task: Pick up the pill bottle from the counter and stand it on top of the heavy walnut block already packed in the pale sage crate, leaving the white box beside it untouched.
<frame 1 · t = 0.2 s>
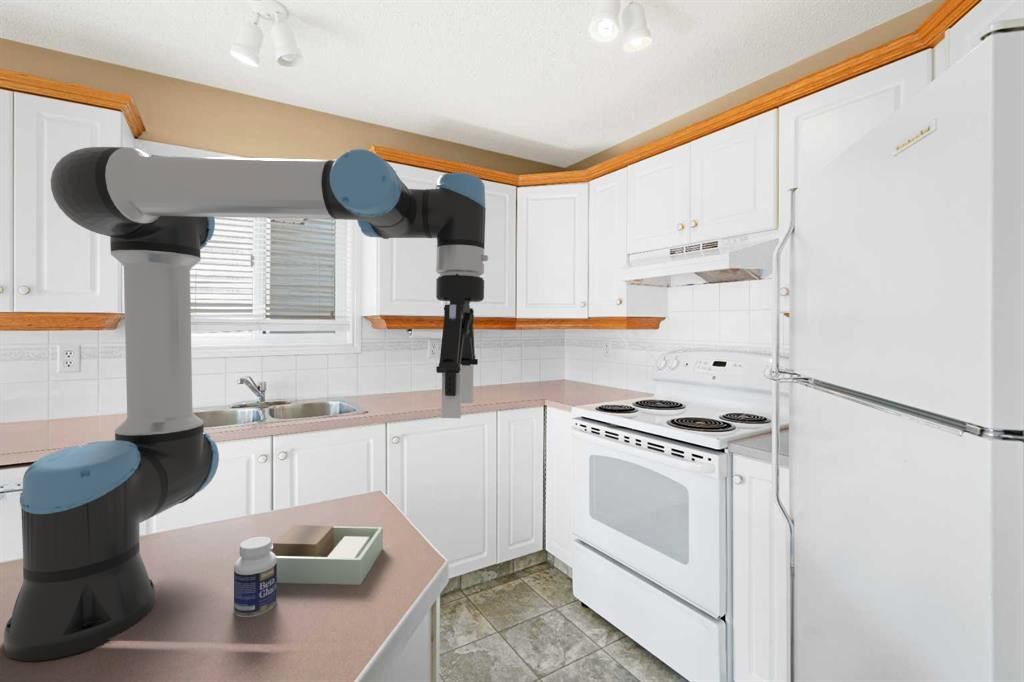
hand: (458, 409, 76), 28 cm above the counter, fingers open, 13 cm apart
white box: (348, 564, 80), point 1 cm above the counter, touching crate
pill bottle: (255, 610, 68), on the counter
crate: (325, 567, 80), on the counter
walnut block: (304, 563, 80), point 1 cm above the counter, touching crate
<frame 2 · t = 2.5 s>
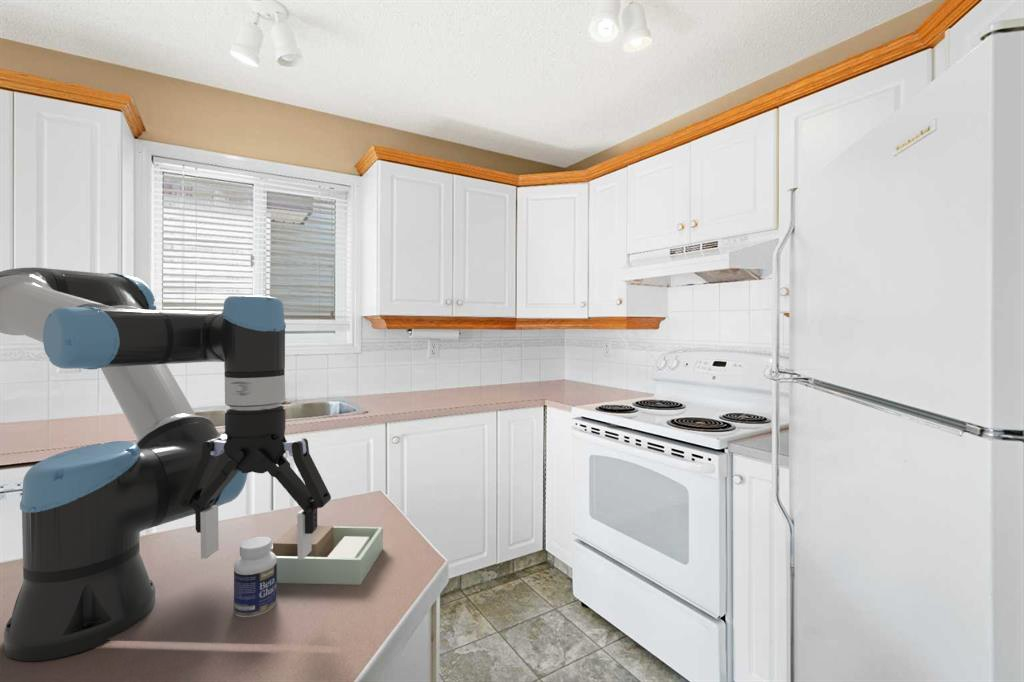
hand: (257, 554, 67), 8 cm above the counter, fingers open, 13 cm apart
nothing on the counter moved.
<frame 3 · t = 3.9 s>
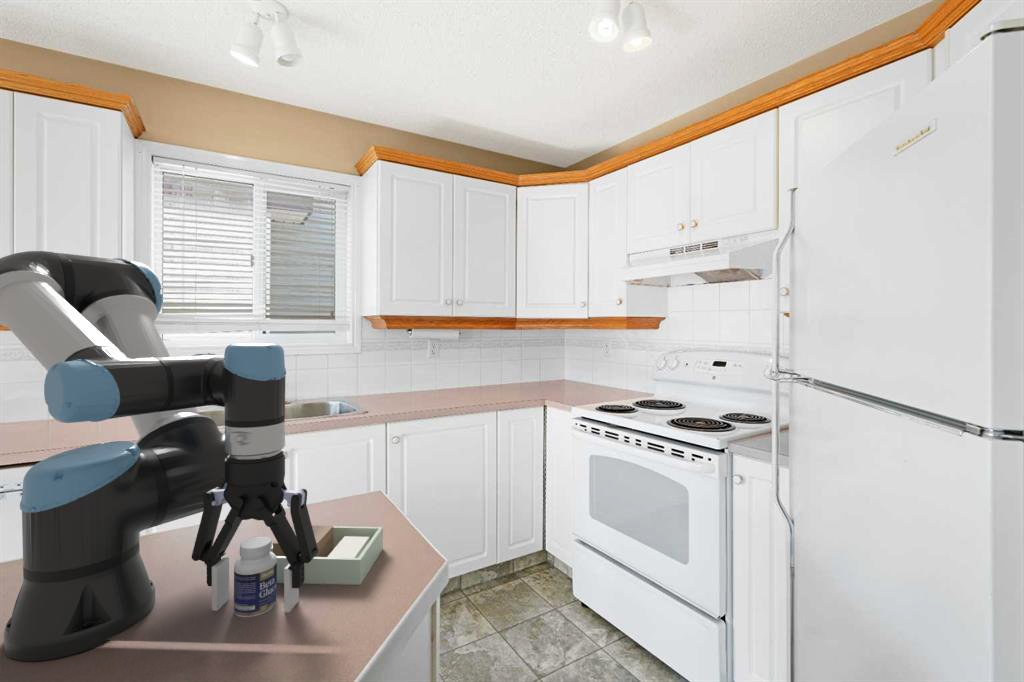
hand: (256, 607, 68), 0 cm above the counter, fingers open, 9 cm apart
nothing on the counter moved.
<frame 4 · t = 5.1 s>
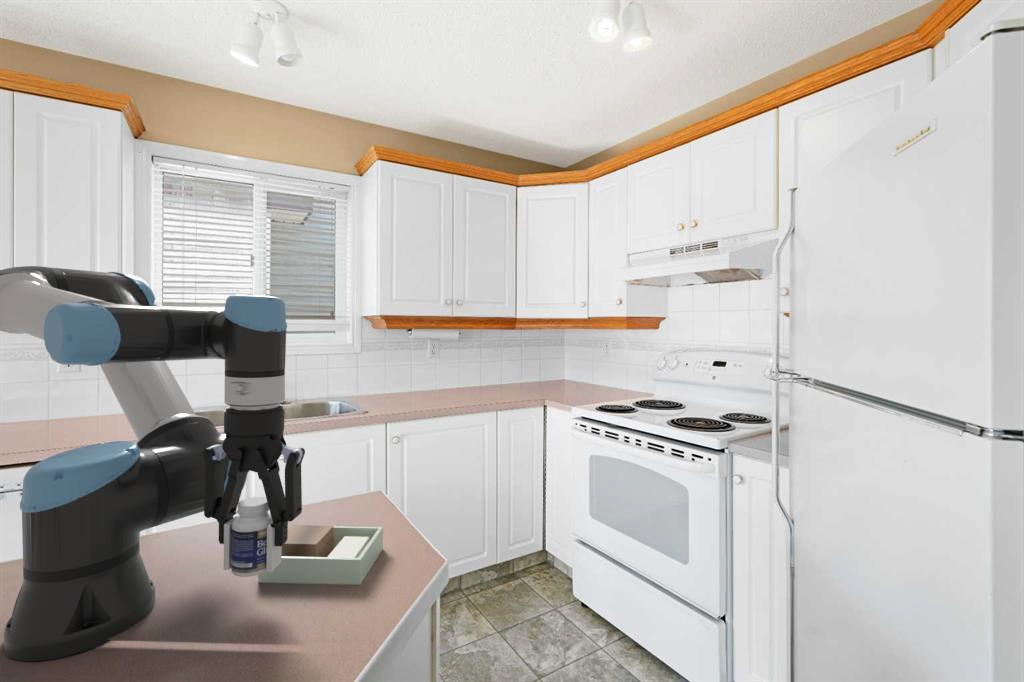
hand: (252, 565, 68), 6 cm above the counter, fingers closed on pill bottle, 5 cm apart
pill bottle: (252, 569, 68), point 6 cm above the counter, touching gripper
everything else where it was.
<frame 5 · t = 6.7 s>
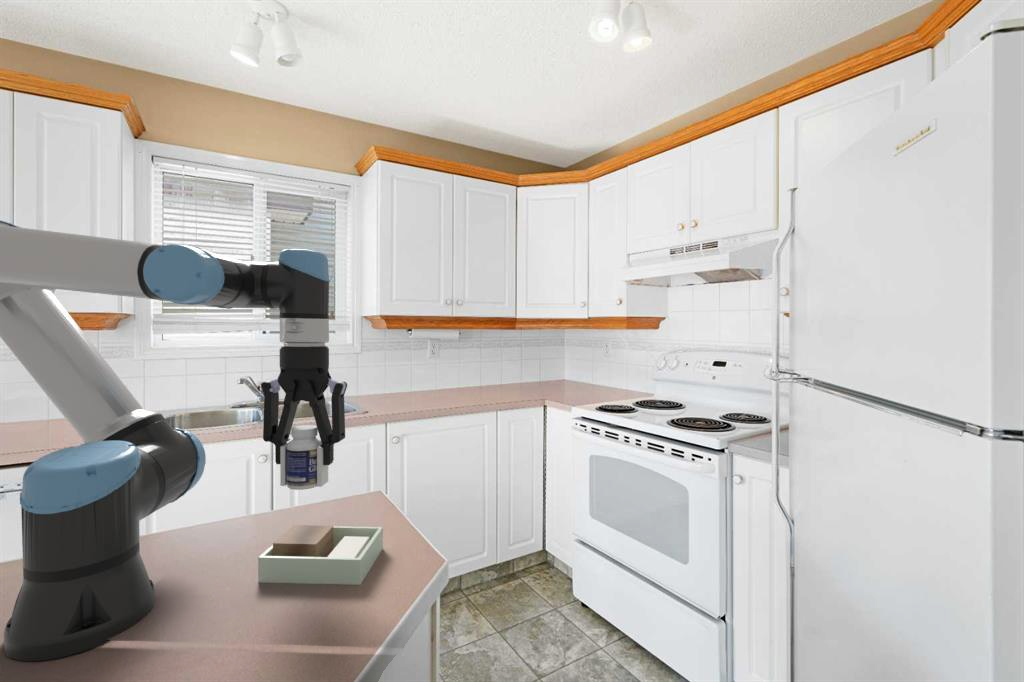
hand: (304, 483, 79), 14 cm above the counter, fingers closed on pill bottle, 5 cm apart
pill bottle: (304, 486, 79), point 14 cm above the counter, touching gripper
everything else where it was.
when the fingers open (6 cm above the counter, at t = 8.8 s): pill bottle stays where it is, resting on walnut block.
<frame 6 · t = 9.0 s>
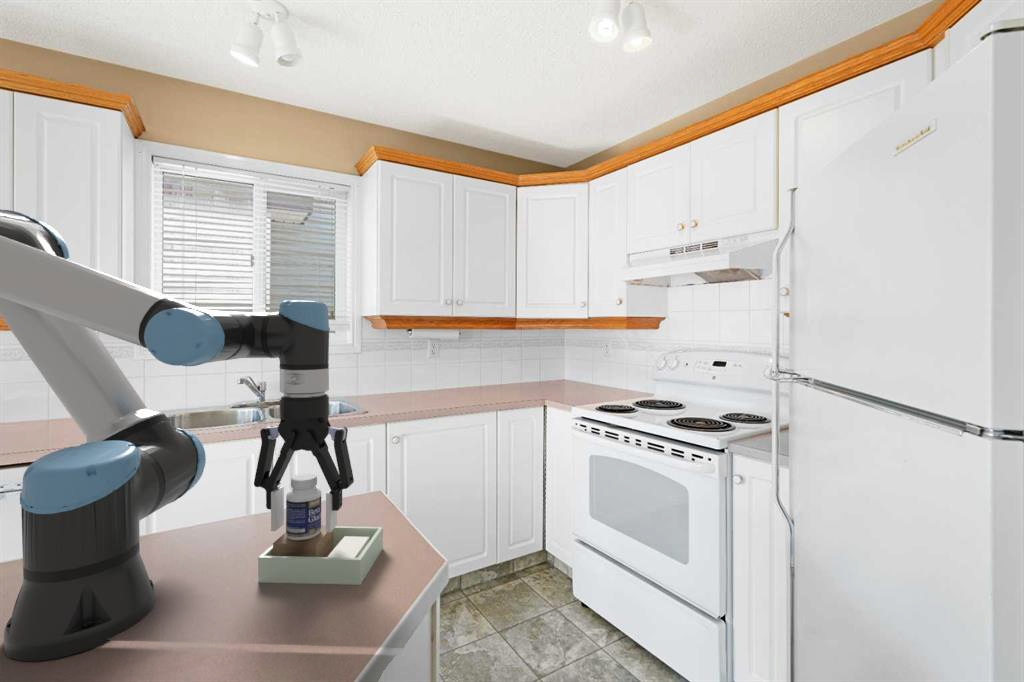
hand: (304, 528, 80), 7 cm above the counter, fingers open, 8 cm apart
pill bottle: (303, 535, 80), point 5 cm above the counter, touching walnut block
walnut block: (304, 563, 80), point 1 cm above the counter, touching crate, pill bottle
everything else where it was.
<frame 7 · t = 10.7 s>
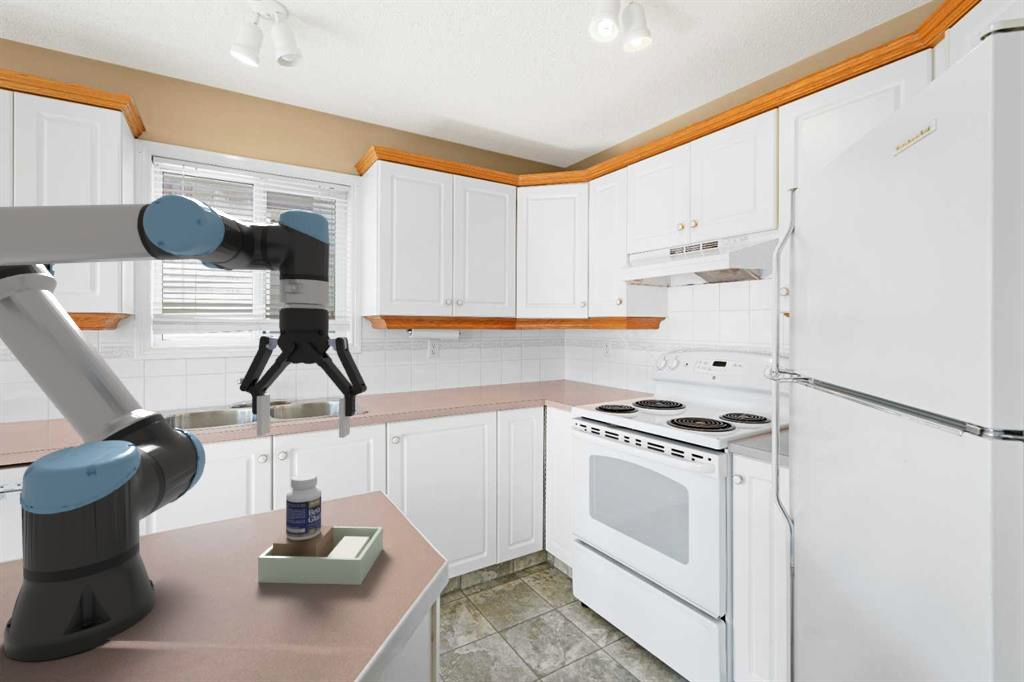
hand: (303, 435, 79), 22 cm above the counter, fingers open, 13 cm apart
nothing on the counter moved.
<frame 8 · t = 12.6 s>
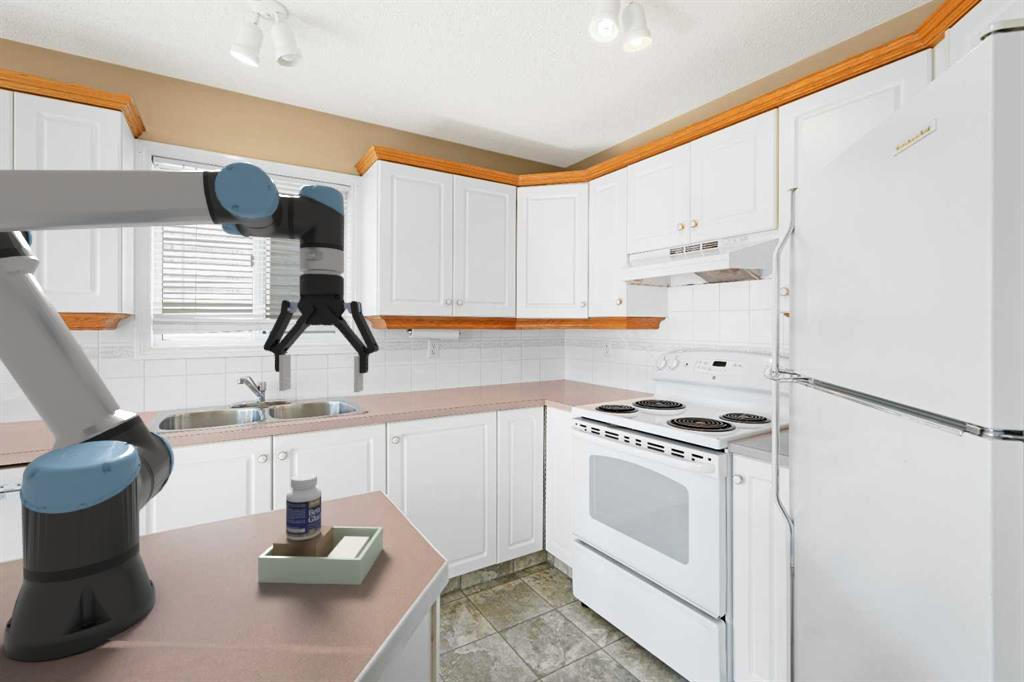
hand: (321, 390, 87), 29 cm above the counter, fingers open, 13 cm apart
nothing on the counter moved.
at the end: pill bottle 0.1 cm off-centre on the walnut block, point 4.8 cm above the walnut block's base; pill bottle tilted 0°; white box moved 0.0 cm from its start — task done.
